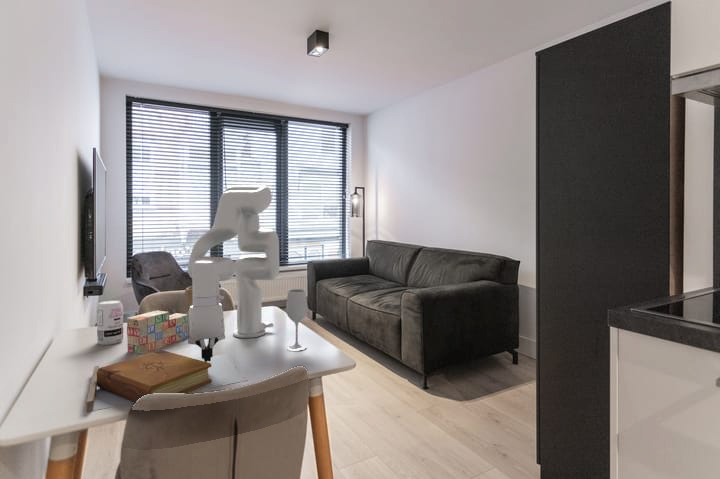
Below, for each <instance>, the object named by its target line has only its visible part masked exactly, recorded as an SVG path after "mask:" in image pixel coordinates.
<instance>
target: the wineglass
mask: <svg viewBox="0 0 720 479" xmlns="http://www.w3.org/2000/svg"><path fill="white" fill-rule="evenodd" d="M285 311H286V315H287V317H288V318H289V319H290V320H291V321H292V322H293V323H294V325H295V343H294V344H291V345H292V346H290V345H289V348H291V349H297V348H301V347H302V346H301V345H302V344H299V340H298V338H299V337H298V336H299V334H298V332H299V323H300V322H301V321H302V320H303V319H305V317H306V316H307V314H308V299H307V292H306V290H305V289H298V288H296V289H295V288H294V289H288V292H287V296H286V305H285Z"/></svg>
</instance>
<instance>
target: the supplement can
mask: <svg viewBox="0 0 720 479" xmlns="http://www.w3.org/2000/svg"><path fill="white" fill-rule="evenodd" d="M96 331H97V338H96V340H97V343H98V344H99V345H101V346H102V345H103V346H108V345H109V346H111V345H115V344H119V343H121V342H122V341H123V340H124V305H123V303H122V301H121V300H115V299H114V300H113V299H112V300H105V301H100V302H98V304H97V305H96Z"/></svg>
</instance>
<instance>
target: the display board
mask: <svg viewBox="0 0 720 479" xmlns="http://www.w3.org/2000/svg"><path fill="white" fill-rule="evenodd" d="M195 359H197V360H200V361H204V359H202V357H197V358H195ZM204 362H205V361H204ZM207 362H208V363H211V367H209V368H208V379H211V381H212V383H210V384H207V385H205V386H203V387H200V388H198V389H196V390H193V391H191V392H195V391H202V390H206V389H211V388H212V389H213V388H217V387H222V386H227V385H231V384H237V383H241V382H247V381H248V379H247V377H246V376H245V375H244V373H243V372H242V371H241V370H240V369H239V367H238V366H237V364H236V363H235V361H234V360H233V358H232V357H231V356H230V355H229V354H228V353H224V354H223V353H222V354H217V355H213V357H211V361H207ZM99 368H100V366H99V365H95V366H93V370H92V375H91V378H90V379H91V380H90V384H89V390H88V394H87V399H86V411H87V412H89V413H90V412H95V411H98V410H99V411H100V410H105V409H111V408H115V407H120V406H126V405H130V404H136V403H135V402H134V401H132V400H129V399H127V398H124V397H122V396H119V395H117V394H114V393H112V392H109V391H107V390H104V389H102V388H100V387H98V386H97V371H98V370H99ZM191 392H190V393H191Z"/></svg>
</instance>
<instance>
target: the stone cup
mask: <svg viewBox="0 0 720 479" xmlns="http://www.w3.org/2000/svg"><path fill="white" fill-rule="evenodd" d="M184 294H185V295H184V296H185V298H186V300H187V303H188V304H189V307H190V306H192V305H193V287H192V285H191V286H188V287H186V288H185V290H184ZM185 314H187V315H188V316H189V310H188V311H187V312H185Z"/></svg>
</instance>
